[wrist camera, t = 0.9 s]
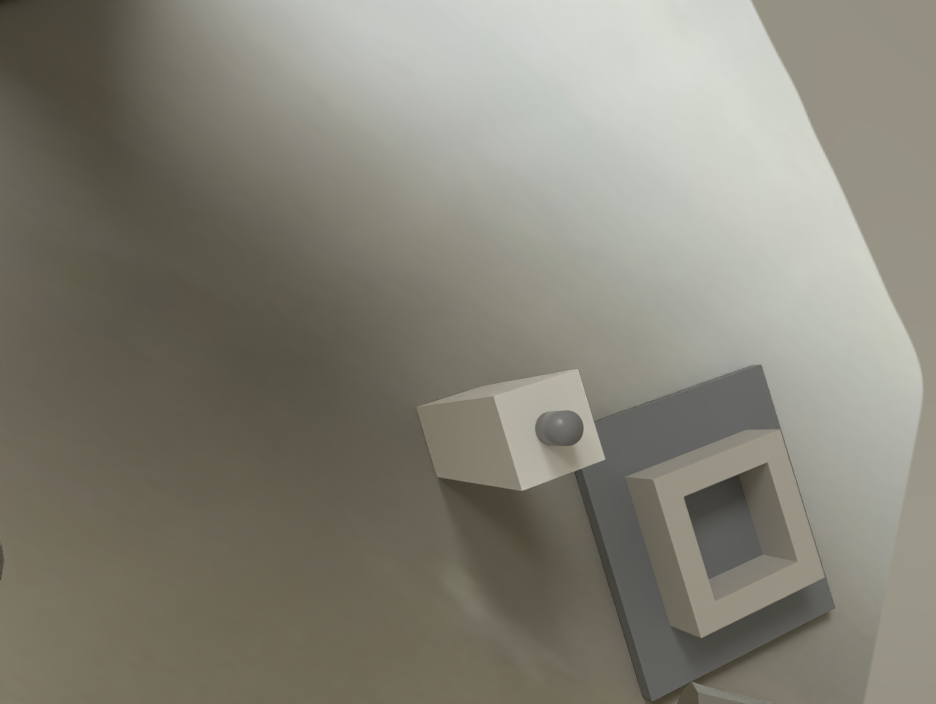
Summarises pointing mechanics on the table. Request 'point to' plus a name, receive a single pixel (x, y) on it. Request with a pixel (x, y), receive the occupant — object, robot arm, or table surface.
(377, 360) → the table surface
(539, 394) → the plug block
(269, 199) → the table surface
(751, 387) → the socket plate
